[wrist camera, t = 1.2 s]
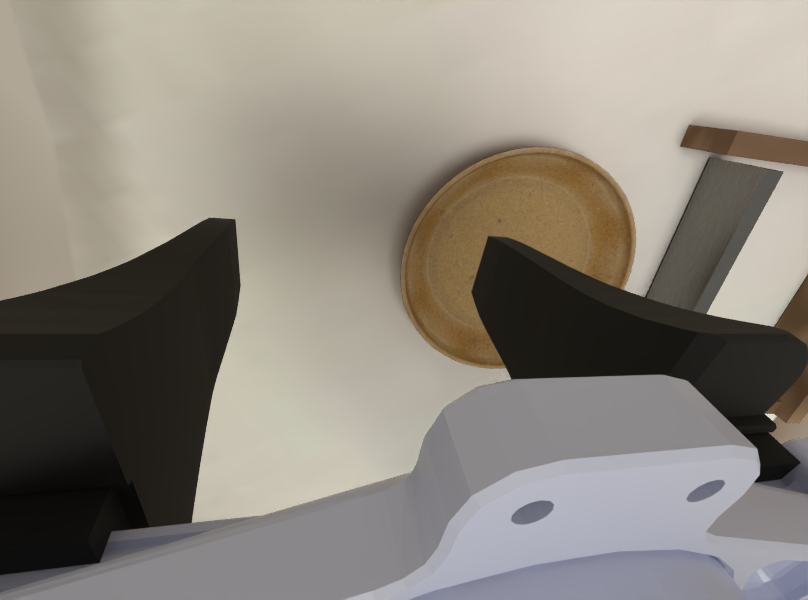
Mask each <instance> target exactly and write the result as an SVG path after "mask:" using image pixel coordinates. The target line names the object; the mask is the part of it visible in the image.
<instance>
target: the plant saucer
mask: <svg viewBox="0 0 808 600" xmlns="http://www.w3.org/2000/svg"><path fill="white" fill-rule="evenodd" d="M488 236H498V237H508V238H511V239H514V240H517V241H519V242H521V243H523V244H526V245H528V246H530V247H532V248H534V249H536V250H538V251H540V252H542V253H544V254H546V255H548V256H550V257H551V258H553V259H555V260H557V261H559V262H561V263H563V264H565V265H567V266H569V267H571V268H573V269H575V270H577V271H580V272H582V273H584V274H586V275H588V276H590V277H593V278H595V279H597V280H599V281H602V282H604V283H607V284H609V285H612V286H614V287H617V288H620V289H622V290H624V288H625V286H626V283H627V281H628V278H629V276H630V273H631V268H632V265H633V261H634V254H635V248H636V230H635V222H634V217H633V213H632V210H631V207H630V204H629V202H628V199H627V197H626V195H625V194H624V192H623V191H622V189H621V187H620V186H619V185H618V183H617V182H616V181H615V180H614V179H613V178H612V176H610V174H609V173H608V172H606V171H605V170H604V169H603V168H601V167H600V166H599V165H597V164H596V163H594V162H593V161H591V160H589V159H587V158H585V157H583V156H582V155H579V154H576V153H573V152H570V151H566V150H562V149H556V148H549V147H530V148H520V149H514V150H510V151H506V152H502V153H499V154H496V155H493V156H491V157H488V158H486V159H483V160H481V161H479V162H477V163H475V164H473V165H472V166H470V167H468V168H467V169H465V170H464V171H462V172H461V173H459V174H458V175H456V176H455V177H454V178H453V179H451V180H450V181H449V182H448V183H447V184H445V185H444V186H443V187H442V188H441V189H440V190H439V191H438V192H437V193H436V194H435V195H434V197H433V198H432V199H431V200H430V201H429V202H428V204H427V205H426V206H425V208H424V209H423V211H422V212H421V214H420V215H419V217H418V218H417V220H416V222H415V224H414V226H413V228H412V230H411V232H410V234H409V237H408V239H407V242H406V245H405V248H404V252H403V257H402V263H401V275H400V277H401V278H400V281H401V291H402V297H403V302H404V305H405V308H406V311H407V313H408V315H409V317H410V319H411V321H412V323H413V325H414V326H415V328H416V330H417V331H418V332H419V333H420V334H421V336H422V337H423V338H424V339H425V340H426V341H427V342H428V343H429V344H430V345H431V346H432V347H433V348H434V349H436V350H437V351H439V352H441V353H442V354H444V355H445V356H448V357H449V358H451V359H453V360H455V361H458V362H460V363H463V364H467V365H471V366H475V367H481V368H491V369H493V368H506V367H505V365H504V363H503V361H502V359H501V357H500V355H499V354H498V352H497V350H496V348H495V346H494V344H493V342H492V340H491V339H490V337H489V335H488V333H487V331H486V329H485V327H484V325H483V323H482V321H481V319H480V317H479V314H478V311H477V309H476V306H475V302H474V299H473V296H472V293H471V291H472V288H473V284H474V281H475V278H476V274H477V271H478V268H479V264H480V261H481V258H482V255H483V251H484V248H485V245H486V241H487V238H488Z"/></svg>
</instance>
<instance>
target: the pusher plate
mask: <svg viewBox="0 0 808 600" xmlns="http://www.w3.org/2000/svg"><path fill="white" fill-rule="evenodd" d="M782 174H783V172H782V171H777V170H772V169H767V168H762V167H757V166H752V165H747V164H742V163H737V162H732V161H727V160H721V159H714V158H710V159H709V161H708V164H707V166H706V168H705V170H704V172H703V175H702V177H701V179H700V181H699V183H698V185H697V188H696V190H695V192H694V194H693V196H692V199H691V201H690V203H689V205H688V207H687V210H686V212H685V214H684V216H683V218H682V220H681V223H680V225H679V227H678V229H677V231H676V234H675V236H674V238H673V240H672V242H671V244H670V247H669V249H668V251H667V253H666V255H665V258H664V260H663V262H662V264H661V266H660V269H659V271H658V273H657V275H656V277H655V279H654V282H653V284H652V286H651V288H650V290H649V293H648V295H647V297H646V298H648V299H651V300H655V301H658V302H661V303H664V304H668V305H671V306H675V307H679V308H683V309H686V310H690V311H694V312H699V313H703V314H706V313H707V312H708V310H709V308H710V306H711V304H712V302H713V301H714V299H715V297H716V295H717V293H718V291H719V290H720V288H721V286H722V284H723V282H724V280H725V279H726V277H727V275H728V273H729V271H730V269H731V267H732V266H733V264H734V262H735V260H736V258H737V256H738V255H739V253H740V251H741V249H742V247H743V245H744V244H745V242H746V240H747V238H748V236H749V234H750V233H751V231H752V229H753V227H754V225H755V223H756V222H757V220H758V218H759V216H760V214H761V212H762V211H763V209H764V207H765V205H766V203H767V201H768V200H769V198H770V196H771V194H772V192H773V190H774V189H775V187H776V185H777V183H778V181H779V179H780V178H781V176H782Z"/></svg>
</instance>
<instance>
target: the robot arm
mask: <svg viewBox="0 0 808 600" xmlns="http://www.w3.org/2000/svg"><path fill="white" fill-rule="evenodd" d="M240 286H241V285H240V273H239V260H238V247H237V235H236V222H235V219H222V218H208V219H206V220H204V221H202V222H200V223H198V224H197V225H195V226H193V227H192V228H190V229H188V230H187V231H185V232H183V233H182V234H180V235H178V236H176V237H175V238H173V239H171V240H170V241H168V242H166V243H164V244H162V245H160V246H158V247H156V248H154V249H152V250H151V251H149V252H147V253H145V254H143V255H141V256H139V257H137V258H135V259H133V260H130V261H128V262H126V263H124V264H121V265H119V266H116V267H114V268H111V269H109V270H106V271H103V272H101V273H98V274H96V275H93V276H90V277H87V278H84V279H80V280H77V281H74V282H70V283H67V284H64V285H60V286H57V287H54V288H51V289H47V290H44V291H40V292H36V293H32V294H28V295H24V296H19V297H16V298H11V299H6V300H2V301H0V600H808V437H807V438H797V439H792V440H789V441H787V442H785V443H783V444H782V445H781V444H780V443H779V442H778V441H777V440H776V439H775V438H774V437H772V436H771V435H770V434H769V433H768V432H773V431H774V430H775V429H776V424H775V423H774V422H773V421H772V420H771V419H770V418H768V417H767V416H766V415H765V413H766V412H767V411H768V410H769V409H770V408H771V407H772V406H773V405H774V404H775V402H776V401H777V400H778V399H779V398H780V397H781V396H782V395H783V394H784V393H785V392H786V391H787V390H788V389H789V388H790V387H791V386H792V385H793V384H794V383H795V382H796V380H797V379H798V378H799V377H800V376H801V374H802V373H803V371H804V369H805V367H806V366H807V362H808V348H807V344H805V343H804V342H802V341H801V340H800V339H798V338H797V337H795V336H794V335H793V334H791V333H790V332H788V331H786V330H783V329H779V328H776V327H771V326H766V325H760V324H754V323H749V322H743V321H737V320H732V319H726V318H721V317H716V316H712V315H707V314H703V313H699V312H694V311H690V310H686V309H683V308H679V307H675V306H671V305H668V304H664V303H661V302H658V301H655V300H651V299H648V298H645V297H642V296H639V295H636V294H633V293H630V292H627V291H625V290H622V289H620V288H617V287H614V286H612V285H609V284H607V283H604V282H602V281H599V280H597V279H595V278H593V277H590V276H588V275H586V274H584V273H582V272H580V271H577V270H575V269H573V268H571V267H569V266H567V265H565V264H563V263H561V262H559V261H557V260H555V259H553V258H551V257H550V256H548V255H546V254H544V253H542V252H540V251H538V250H536V249H534V248H532V247H530V246H528V245H526V244H523V243H521V242H519V241H517V240H514V239H511V238H508V237H498V236H488V238H487V241H486V245H485V248H484V251H483V255H482V258H481V261H480V264H479V268H478V271H477V274H476V278H475V281H474V284H473V288H472V291H471V293H472V296H473V299H474V302H475V306H476V309H477V311H478V314H479V317H480V319H481V321H482V323H483V325H484V327H485V329H486V331H487V333H488V335H489V337H490V339H491V340H492V342H493V344H494V346H495V348H496V350H497V352H498V354H499V355H500V357H501V359H502V361H503V363H504V365H505V367H506V369H507V370H508V372H509V375H510V377H511V379H512V380H507V381H503V382H498V383H494V384H489V385H485V386H480V387H476V388H475V389H473V390H472V391H470V392H468V393H467V394H465V395H464V396H462V397H460V398H459V399H457V400H455V401H454V402H452V403H451V404H449V405H447V406H446V407H445V408H444V409H443V410H442V412H441V413H440V415H439V416H438V418H437V419H436V421H435V422H434V424H433V425H432V427H431V428H430V429H429V431H428V432H427V434H426V435H425V437H424V441H423V444H422V447H421V451H420V454H419V458H418V461H417V464H416V466H415V468H414V470H413V471H412V472H411V473H407V474H404V475H400V476H397V477H393V478H390V479H386V480H383V481H379V482H376V483H373V484H369V485H366V486H362V487H359V488H355V489H352V490H349V491H345V492H342V493H338V494H335V495H331V496H328V497H324V498H321V499H318V500H314V501H311V502H307V503H304V504H300V505H297V506H293V507H290V508H287V509H283V510H280V511H276V512H273V513H269V514H266V515H262V516H253V517H243V518H234V519H225V520H215V521H206V522H196V523H192V516H193V508H194V502H195V495H196V488H197V482H198V475H199V468H200V462H201V456H202V450H203V444H204V438H205V432H206V426H207V421H208V415H209V410H210V404H211V399H212V394H213V390H214V386H215V382H216V378H217V375H218V372H219V369H220V365H221V362H222V359H223V356H224V353H225V350H226V346H227V343H228V340H229V337H230V334H231V330H232V327H233V324H234V320H235V317H236V313H237V306H238V300H239V293H240Z"/></svg>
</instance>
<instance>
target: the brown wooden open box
mask: <svg viewBox="0 0 808 600" xmlns="http://www.w3.org/2000/svg"><path fill="white" fill-rule="evenodd" d="M681 147H687V148H692V149H697V150H703V151H708V152H714V153H719V154H724V155H731V156H738V157H745V158H752V159H758V160H765V161H772V162H779V163H786V164H793V165H800V166H807V167H808V142H807V141H801V140H794V139H788V138H781V137H775V136H768V135H762V134H755V133H749V132H743V131H735V130H727V129H718V128H710V127H701V126H692V125H689V127H688V130H687V132H686V135H685V137H684V139H683V142H682V144H681ZM775 327H776V328H779V329H783V330H786V331H788V332H790V333H791V334H793V335H794V336H795V337H797V338H798V339H800V340H801V341H802V342H804V343H805V344H807V348H808V276H807V278H806V279H805V281H804V282H803V284H802V285H801V287H800V288H799V290H798V292H797V293H796V295H795V296H794V298H793V299H792V301H791V302H790V304H789V305H788V307H787V309H786V310H785V312H784V313H783V315H782V316H781V318H780V319H779V321H778V323H777V324H776V326H775ZM807 413H808V362H807V366H806V367H805V369H804V371H803V373H802V374H801V376H800V377H799V378H798V379H797V380H796V382H795V383H794V384H793V385H792V386H791V387H790V388H789V389H788V390H787V391H786V392H785V393H784V394H783V395H782V396H781V397H780V398H779V399H778V400H777V401H776V402H775V404H774V405H773V406H772V407H771V408H770V409H769V410H768V411H767V412H766V413H765V414H775V415H776V416H778V417H779V418H780V419H781V420H783V421H784V422H785V423H800V422H801V420H802V419H803V417H805V415H806V414H807Z"/></svg>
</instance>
